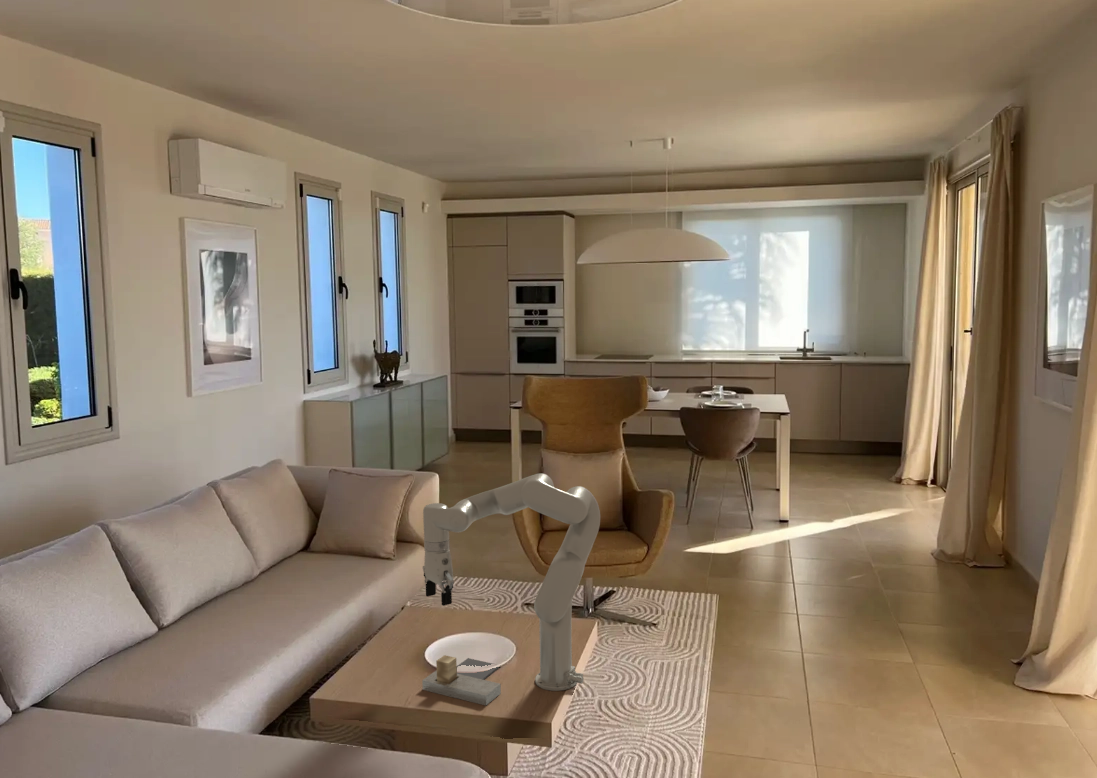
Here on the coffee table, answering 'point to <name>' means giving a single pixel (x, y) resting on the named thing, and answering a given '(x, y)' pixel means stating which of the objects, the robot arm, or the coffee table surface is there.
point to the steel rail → (464, 688)
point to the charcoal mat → (478, 663)
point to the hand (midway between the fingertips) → (438, 599)
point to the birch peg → (446, 669)
